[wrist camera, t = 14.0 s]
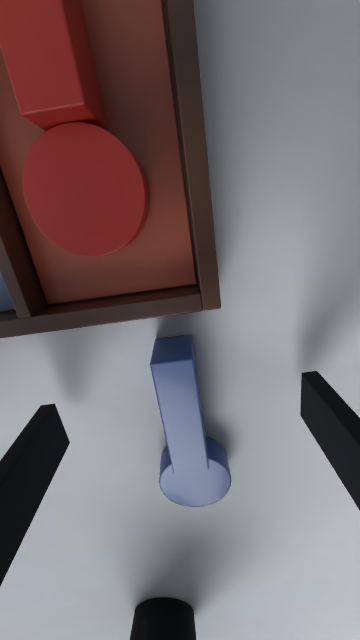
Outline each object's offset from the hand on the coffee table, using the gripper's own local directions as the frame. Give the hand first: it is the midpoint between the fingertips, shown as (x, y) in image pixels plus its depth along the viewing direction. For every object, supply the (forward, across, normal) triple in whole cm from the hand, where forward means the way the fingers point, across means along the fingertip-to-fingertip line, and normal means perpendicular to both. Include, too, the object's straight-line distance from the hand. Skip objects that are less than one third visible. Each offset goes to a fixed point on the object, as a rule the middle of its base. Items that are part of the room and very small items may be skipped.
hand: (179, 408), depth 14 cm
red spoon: (+1, -2, +14) cm, 14 cm away
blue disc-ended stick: (+2, 0, -2) cm, 3 cm away
